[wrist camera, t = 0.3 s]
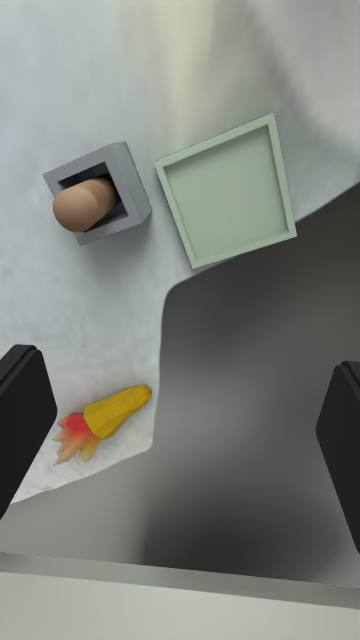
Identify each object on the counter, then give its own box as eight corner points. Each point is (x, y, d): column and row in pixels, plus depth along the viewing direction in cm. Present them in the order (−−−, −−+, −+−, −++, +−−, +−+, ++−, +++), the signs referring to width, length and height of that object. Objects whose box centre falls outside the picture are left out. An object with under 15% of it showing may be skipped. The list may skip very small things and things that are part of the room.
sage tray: (156, 160, 39) (153, 162, 37) (270, 113, 35) (274, 112, 33) (193, 262, 45) (192, 268, 43) (292, 230, 42) (296, 236, 40)
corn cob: (155, 370, 62) (73, 433, 69) (126, 358, 56) (40, 429, 63) (167, 407, 57) (78, 471, 64) (137, 398, 51) (42, 470, 58)
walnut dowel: (87, 180, 40) (45, 198, 30) (115, 168, 39) (81, 182, 29) (102, 210, 42) (66, 237, 32) (129, 200, 41) (101, 224, 31)
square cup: (67, 167, 40) (42, 174, 34) (125, 141, 38) (109, 144, 32) (97, 229, 44) (80, 245, 38) (152, 209, 42) (142, 222, 36)
